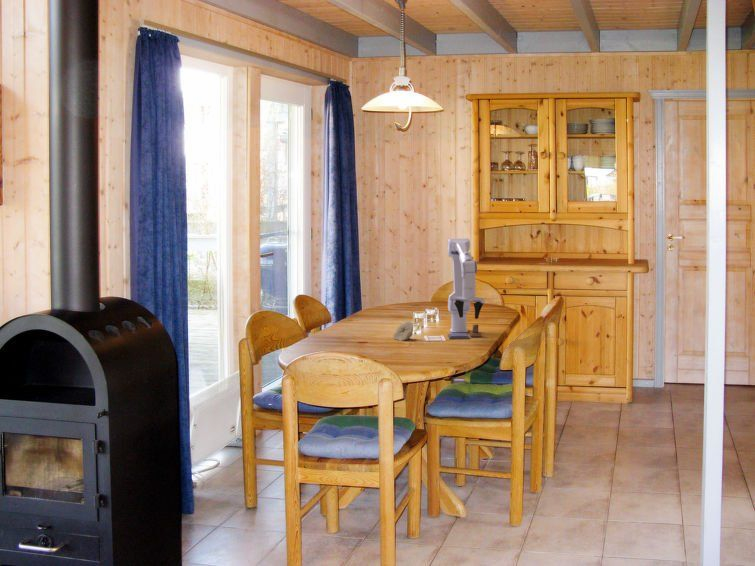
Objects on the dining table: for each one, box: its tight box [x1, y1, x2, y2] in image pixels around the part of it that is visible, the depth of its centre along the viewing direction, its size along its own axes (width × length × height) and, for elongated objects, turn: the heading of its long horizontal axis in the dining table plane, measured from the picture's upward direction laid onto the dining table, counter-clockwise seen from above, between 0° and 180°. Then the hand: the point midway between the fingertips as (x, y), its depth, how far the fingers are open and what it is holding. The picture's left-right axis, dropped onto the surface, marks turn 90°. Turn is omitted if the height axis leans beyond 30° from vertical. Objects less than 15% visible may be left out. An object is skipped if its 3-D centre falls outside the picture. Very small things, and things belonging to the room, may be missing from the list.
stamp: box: [469, 323, 482, 339], centre depth 429 cm, size 4×4×6 cm
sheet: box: [423, 334, 447, 342], centre depth 426 cm, size 14×9×1 cm, turn 1°
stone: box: [393, 320, 414, 342], centre depth 425 cm, size 10×7×10 cm
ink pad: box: [447, 332, 470, 340], centre depth 428 cm, size 9×9×1 cm
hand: (468, 317), depth 421 cm, fingers open, 7 cm apart
